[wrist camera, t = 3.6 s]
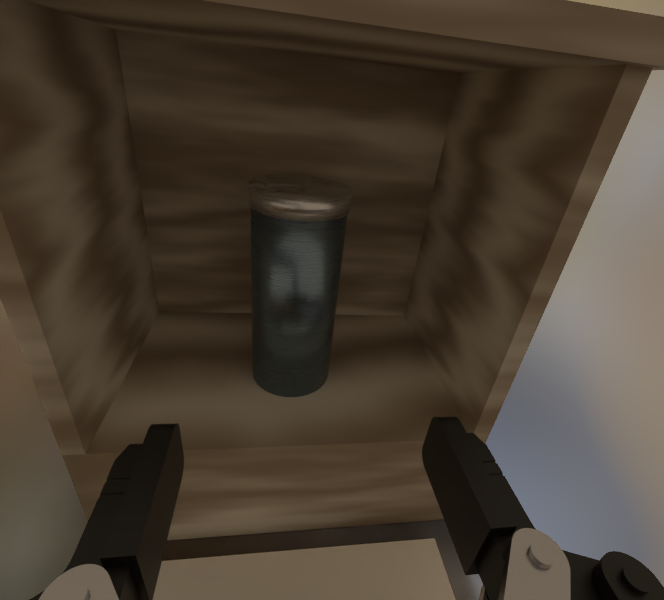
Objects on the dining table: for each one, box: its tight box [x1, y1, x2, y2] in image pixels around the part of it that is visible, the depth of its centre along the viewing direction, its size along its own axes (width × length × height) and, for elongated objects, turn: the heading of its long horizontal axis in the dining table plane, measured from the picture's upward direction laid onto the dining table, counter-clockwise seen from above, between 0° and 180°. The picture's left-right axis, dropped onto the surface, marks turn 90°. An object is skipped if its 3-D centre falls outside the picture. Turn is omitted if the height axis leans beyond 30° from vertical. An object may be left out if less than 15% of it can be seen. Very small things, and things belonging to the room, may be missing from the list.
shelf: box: [0, 0, 664, 540], centre depth 23 cm, size 15×23×27 cm, turn 97°
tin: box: [248, 174, 352, 397], centre depth 22 cm, size 5×5×12 cm
